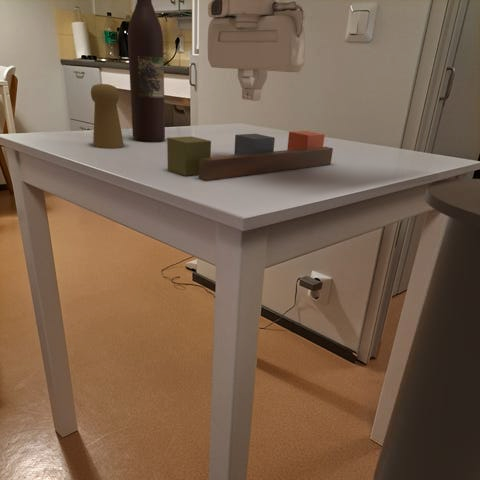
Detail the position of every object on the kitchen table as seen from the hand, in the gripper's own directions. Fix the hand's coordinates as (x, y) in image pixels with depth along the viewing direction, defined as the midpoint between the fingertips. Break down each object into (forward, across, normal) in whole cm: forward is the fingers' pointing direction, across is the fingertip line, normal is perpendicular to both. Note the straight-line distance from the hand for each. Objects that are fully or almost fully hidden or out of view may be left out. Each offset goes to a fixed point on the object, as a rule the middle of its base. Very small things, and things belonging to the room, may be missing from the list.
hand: (250, 100), depth 79 cm
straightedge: (+11, -7, 0) cm, 13 cm away
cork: (+10, +26, +15) cm, 31 cm away
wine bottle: (+10, +30, +3) cm, 32 cm away
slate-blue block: (+11, -2, +1) cm, 11 cm away
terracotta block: (+11, -2, -14) cm, 18 cm away
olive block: (+10, -1, +15) cm, 18 cm away
